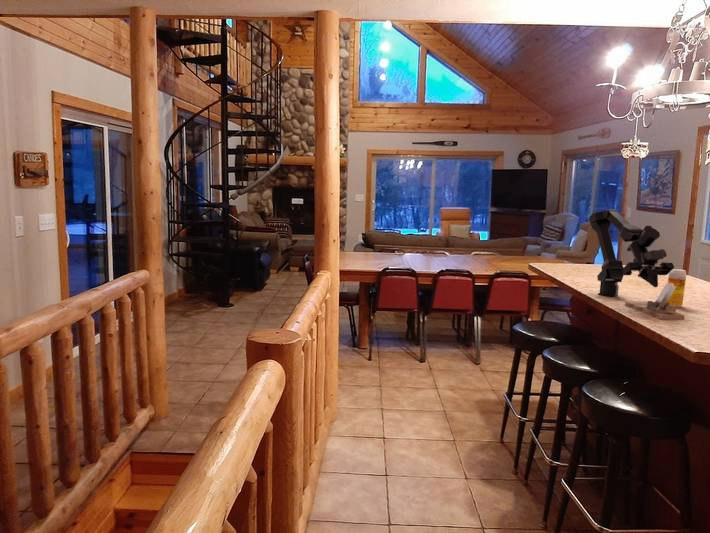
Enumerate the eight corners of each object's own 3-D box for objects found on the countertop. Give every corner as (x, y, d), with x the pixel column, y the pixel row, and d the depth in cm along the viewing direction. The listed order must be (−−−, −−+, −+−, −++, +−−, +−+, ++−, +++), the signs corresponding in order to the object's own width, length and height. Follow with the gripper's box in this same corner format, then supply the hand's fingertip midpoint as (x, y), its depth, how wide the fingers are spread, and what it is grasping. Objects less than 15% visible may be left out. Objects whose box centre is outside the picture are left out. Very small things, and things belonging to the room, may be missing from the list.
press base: (624, 305, 216) (625, 293, 215) (645, 305, 217) (646, 293, 216) (661, 319, 195) (663, 306, 194) (684, 319, 196) (685, 306, 195)
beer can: (673, 308, 213) (678, 271, 211) (661, 304, 219) (665, 268, 217) (685, 307, 215) (690, 271, 213) (673, 303, 221) (677, 268, 218)
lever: (651, 305, 204) (665, 283, 197) (659, 305, 204) (673, 283, 197) (654, 309, 202) (668, 287, 195) (663, 309, 203) (677, 287, 195)
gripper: (630, 241, 205) (645, 275, 196) (674, 242, 207) (691, 275, 199) (615, 258, 214) (629, 290, 205) (658, 258, 216) (673, 290, 208)
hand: (656, 286), depth 204 cm, fingers closed
